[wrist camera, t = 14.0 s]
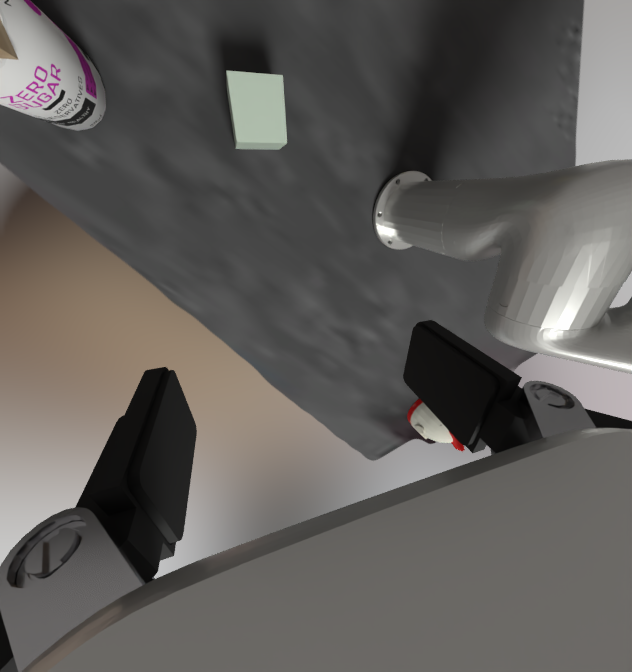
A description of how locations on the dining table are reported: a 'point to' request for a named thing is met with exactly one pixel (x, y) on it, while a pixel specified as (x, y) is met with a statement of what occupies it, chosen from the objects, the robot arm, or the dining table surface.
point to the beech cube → (6, 45)
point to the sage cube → (257, 110)
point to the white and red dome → (430, 425)
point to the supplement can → (48, 71)
